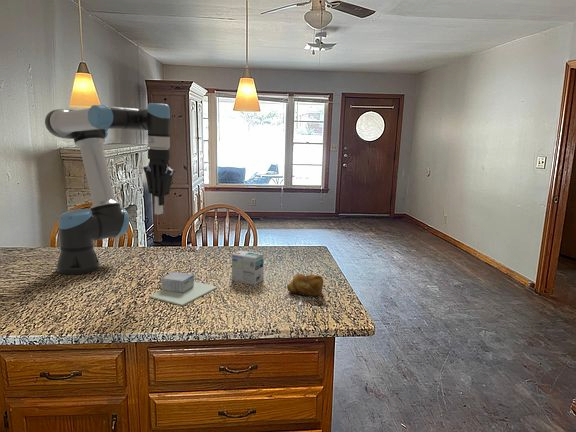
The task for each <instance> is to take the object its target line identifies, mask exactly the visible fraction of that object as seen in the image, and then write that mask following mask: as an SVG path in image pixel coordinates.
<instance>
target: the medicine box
mask: <svg viewBox="0 0 576 432" xmlns="http://www.w3.org/2000/svg"><path fill="white" fill-rule="evenodd" d="M160 282H161V283H160V284H161V291H162V290H166V291H173V292H180V293H183V292H185V291H186V290H188V289H189V288H191V287H193V286H194V282H195V274H192V273H185V272H177V271H172V272H170V273H168V274H166V275H164V276H163V277H161V279H160Z"/></svg>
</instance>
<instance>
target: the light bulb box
mask: <svg viewBox="0 0 576 432" xmlns="http://www.w3.org/2000/svg"><path fill="white" fill-rule="evenodd" d="M264 258H265V256H264V253H259V252H251V251H246V250H238V251H236V252H233V253H231V281H233V282H238V283H242V284H247V285H252V286H257V285H258V284H260V283H261V282H263V281H264V269H265V268H264Z"/></svg>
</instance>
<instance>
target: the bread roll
mask: <svg viewBox="0 0 576 432" xmlns="http://www.w3.org/2000/svg"><path fill="white" fill-rule="evenodd" d="M292 278H293V279H292V281H290V282H289V283H288V284H287V286H286V287H287V291H288V292H290V293H291V294H294V295H300V296H305V297H316V296H319V295H320V294H321V293H322V292H323V287H324V278H323V276H321V275H318V274H317V275H316V274H311V273H310V274H306V275H305V274H302V273H297V274H296V275H295V276H294V277H292Z"/></svg>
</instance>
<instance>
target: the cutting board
mask: <svg viewBox="0 0 576 432" xmlns="http://www.w3.org/2000/svg"><path fill="white" fill-rule="evenodd" d="M216 289H218V286H215V285H212V284H207V283H203V282H198V281H194V286H193V287H191V288H189V289H188V290H186V291H185V292H183V293H180V292H173V291H166V290H162V289H161V290H160V291H158V292H156V293H153V294H151V295H149V298H150V299H154V300H158V301H162V302H165V303H169V304H173V305H176V306H177V305H178V306H180V307H184V306H186V305H187V304H190V303H191V302H194V301H195V300H197V299H199V298H201V297H203V296H205V295H207V294H209V293H211V292H213V291H214V290H216Z"/></svg>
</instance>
